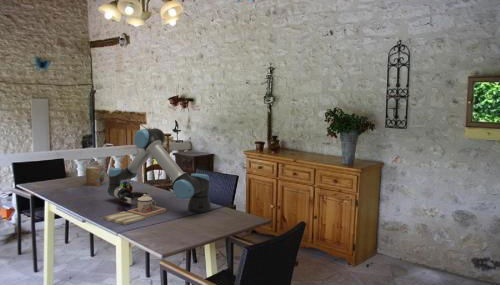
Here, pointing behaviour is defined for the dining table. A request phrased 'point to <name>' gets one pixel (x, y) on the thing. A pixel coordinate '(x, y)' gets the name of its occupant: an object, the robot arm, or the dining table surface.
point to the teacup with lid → (145, 204)
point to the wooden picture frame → (158, 211)
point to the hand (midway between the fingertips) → (140, 199)
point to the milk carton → (95, 174)
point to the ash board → (124, 218)
